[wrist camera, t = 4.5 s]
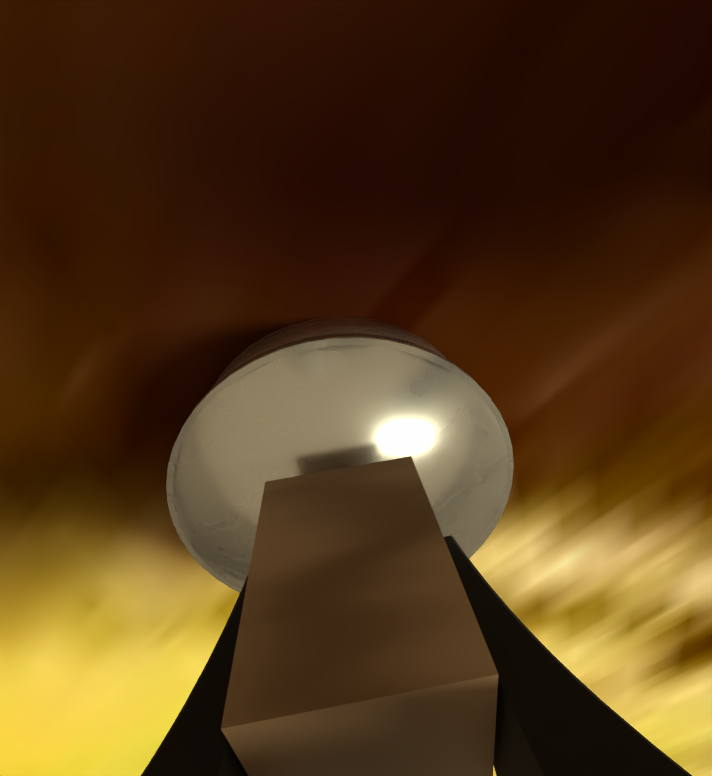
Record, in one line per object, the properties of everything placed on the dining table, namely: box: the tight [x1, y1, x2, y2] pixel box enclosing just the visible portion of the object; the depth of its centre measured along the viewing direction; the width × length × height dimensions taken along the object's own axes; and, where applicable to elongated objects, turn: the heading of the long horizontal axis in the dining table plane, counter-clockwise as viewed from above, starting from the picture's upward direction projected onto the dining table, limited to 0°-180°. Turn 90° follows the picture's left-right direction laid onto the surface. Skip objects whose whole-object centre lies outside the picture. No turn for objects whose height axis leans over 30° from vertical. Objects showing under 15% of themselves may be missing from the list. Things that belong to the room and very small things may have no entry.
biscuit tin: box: [166, 316, 514, 592], centre depth 15 cm, size 12×12×4 cm
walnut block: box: [221, 456, 498, 776], centre depth 10 cm, size 4×4×6 cm
